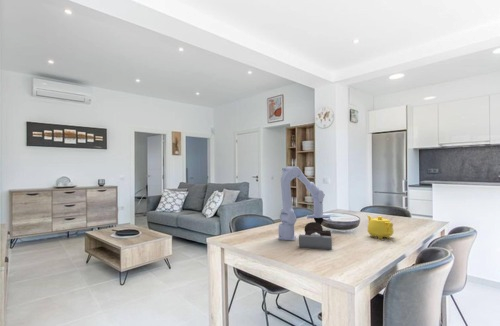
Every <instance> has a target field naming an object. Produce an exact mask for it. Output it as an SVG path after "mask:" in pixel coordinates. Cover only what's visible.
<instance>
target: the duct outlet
mask: <svg viewBox="0 0 500 326" xmlns="http://www.w3.org/2000/svg"><path fill="white" fill-rule="evenodd" d="M332 241H333V237H332V235H331V236H321V235H320V234H318V233H312V234H311V235H305V234H299V235H298V248H301V249H302V248H303V249H317V250H318V249H319V250H332V248H333V242H332Z"/></svg>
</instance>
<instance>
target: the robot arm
mask: <svg viewBox="0 0 500 326" xmlns="http://www.w3.org/2000/svg"><path fill="white" fill-rule="evenodd" d="M296 178H297V179H298V180H299V181H300V182H301V183H302V184H304V185H305V189H306V190H307V191H308V192H309V193H310V194H311V197H312V199H313V214H306V219H308V220H309V219H313V220H314V222H317V223H319V224H320V225H321V226H322V224H323V222H324V219H329V220H330V219H331V215H330V214H324V210H323V209H324V204H323V202H324V198H325V193H324V191H323V190H320V188H319V187H318V186H317V185H316V183H315V182H313V181H310V180H309V179H308V178H307V177H306V175H305V174H304V173H303V171H302V169H301V168H300V167H298V166H288V165H287V166H285V167H284V168H283V169H282V175H281V177H280V186H281V198H282V199H281V200H282V209H281V210H280V215H279V219H280V221H281V223H279V224H278V229H277V230H278V240H283V241H285V240H286V241H295V240H296V238H297V236H296V235H295V223H296V222H297V219H298V218H297V215H296V214H295V210H294V208H293V204H292V203H293V202H292V192H291V190H292V189H291V182H292V181H293V180H294V179H296Z"/></svg>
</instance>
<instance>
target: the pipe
mask: <svg viewBox="0 0 500 326" xmlns="http://www.w3.org/2000/svg"><path fill="white" fill-rule="evenodd" d="M312 233H318V234H320V235H321V236H332V231H331V230H324V228H323V225H322V224H321V225H320V224H319V223H317V222H315V221H311V222H308V223H306V224H305V225H304V235H311V234H312Z"/></svg>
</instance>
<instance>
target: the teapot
mask: <svg viewBox="0 0 500 326" xmlns="http://www.w3.org/2000/svg"><path fill="white" fill-rule="evenodd" d="M366 216H367V218H368V224H367V229H366V230H367V233H368V234H369V235H370V237H371V238H375V237H378V238H377V239H378V240H383V239H384V238H386V239H391V236H393V234H394V224H393V222H391V220H390V219H387V218H383V216H381V215H380V216H379V215H378V216H377V217H375V218H372V216H371V215H369V214H366Z"/></svg>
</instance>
